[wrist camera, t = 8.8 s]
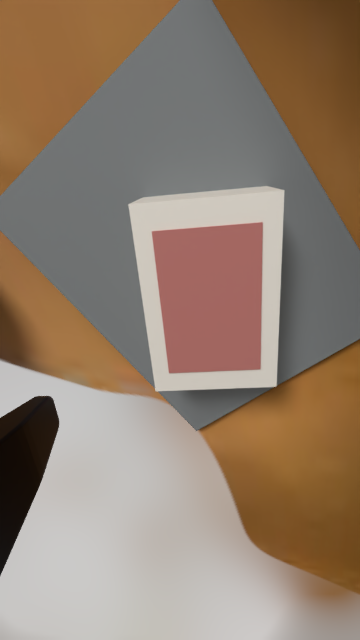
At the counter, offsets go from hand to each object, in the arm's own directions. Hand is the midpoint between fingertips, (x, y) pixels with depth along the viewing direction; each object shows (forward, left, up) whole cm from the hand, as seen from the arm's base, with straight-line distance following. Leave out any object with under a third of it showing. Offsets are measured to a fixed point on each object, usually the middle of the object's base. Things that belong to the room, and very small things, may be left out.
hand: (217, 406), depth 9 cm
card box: (0, 0, -10) cm, 10 cm away
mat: (-1, 0, -11) cm, 11 cm away
